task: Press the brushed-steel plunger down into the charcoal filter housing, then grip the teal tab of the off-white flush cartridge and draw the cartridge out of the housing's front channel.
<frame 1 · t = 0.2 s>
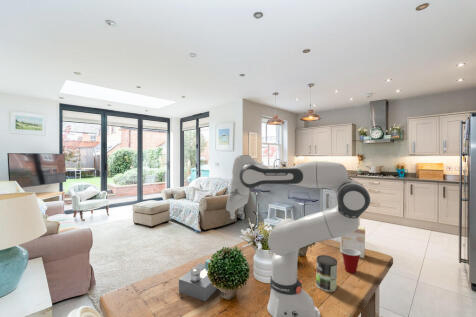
hand: (236, 215, 108), 39 cm above the table, tool pointing down, fingers open, 8 cm apart
coffee can: (326, 286, 117), on the table
cartridge: (205, 272, 117), point 6 cm above the table, slide at 0.0 cm
coffeecake box: (352, 254, 155), on the table
plunger: (195, 276, 109), point 8 cm above the table, slide at 0.0 cm
plastic cup: (350, 271, 133), on the table
filter housing: (203, 285, 115), on the table
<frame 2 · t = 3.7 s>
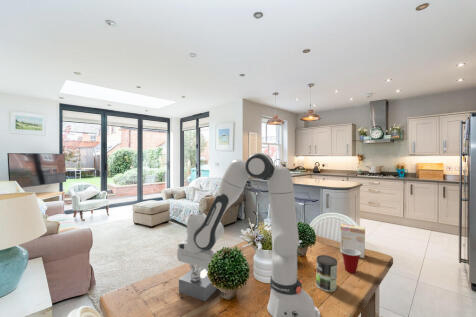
hand: (195, 273, 109), 10 cm above the table, tool pointing down, fingers closed, pressing on plunger
plunger: (195, 279, 109), point 7 cm above the table, slide at 1.6 cm, touching gripper
everything else where it was.
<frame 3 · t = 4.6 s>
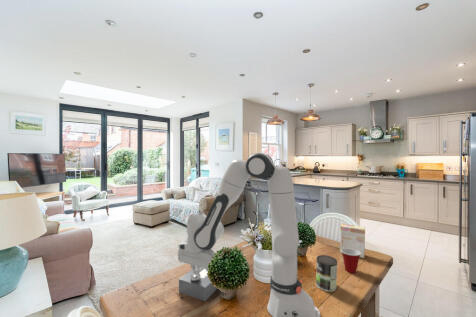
hand: (196, 273, 109), 10 cm above the table, tool pointing down, fingers closed
plunger: (195, 282, 109), point 6 cm above the table, slide at 2.7 cm
everything else where it was.
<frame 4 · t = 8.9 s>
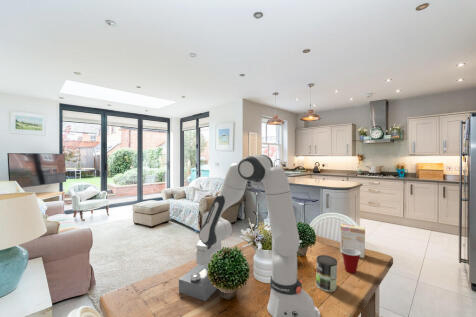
hand: (209, 266, 121), 8 cm above the table, tool pointing down, fingers closed on cartridge, 3 cm apart
cartridge: (205, 272, 117), point 6 cm above the table, slide at 0.0 cm, touching gripper
everything else where it was.
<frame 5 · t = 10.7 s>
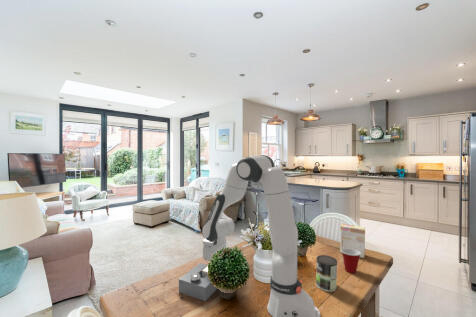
hand: (215, 261, 126), 8 cm above the table, tool pointing down, fingers closed on cartridge, 3 cm apart
cartridge: (211, 267, 123), point 6 cm above the table, slide at 5.8 cm, touching gripper
everything else where it was.
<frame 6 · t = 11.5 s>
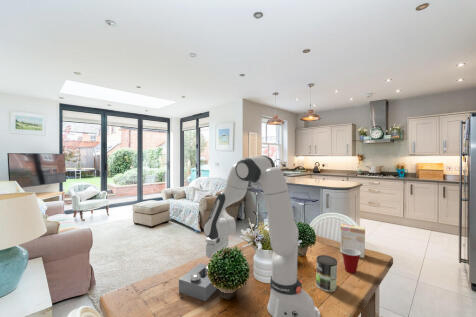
hand: (218, 259, 129), 8 cm above the table, tool pointing down, fingers closed on cartridge, 3 cm apart
cartridge: (214, 264, 125), point 6 cm above the table, slide at 8.9 cm, touching gripper
everything else where it was.
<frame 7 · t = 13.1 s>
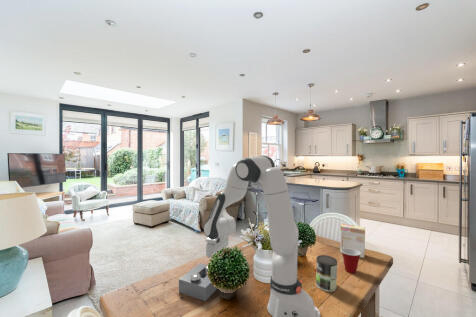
hand: (218, 259, 129), 8 cm above the table, tool pointing down, fingers open, 8 cm apart
cartridge: (214, 264, 125), point 6 cm above the table, slide at 9.0 cm
everything else where it was.
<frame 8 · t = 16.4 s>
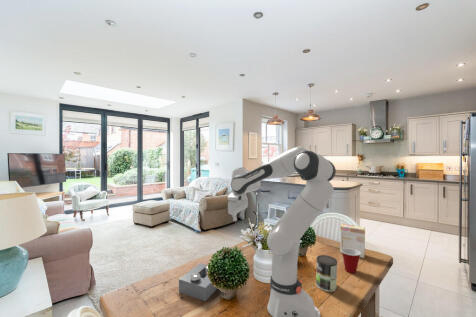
hand: (238, 218, 130), 31 cm above the table, tool pointing down, fingers open, 8 cm apart
nothing on the table moved.
at the end: plunger slide at 2.7 cm; cartridge slide at 9.0 cm; the gripper is holding nothing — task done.
